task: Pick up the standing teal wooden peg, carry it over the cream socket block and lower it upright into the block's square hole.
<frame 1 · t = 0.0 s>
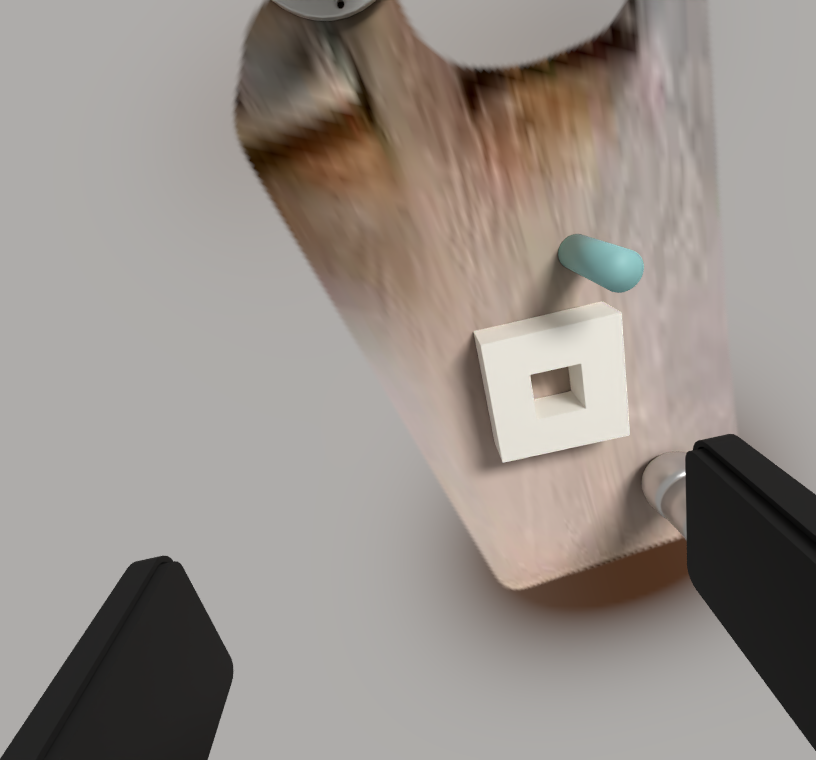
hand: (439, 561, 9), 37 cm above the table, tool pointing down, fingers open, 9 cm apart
peg: (575, 251, 43), on the table
hole block: (545, 375, 48), on the table
plastic bottle: (663, 470, 53), on the table
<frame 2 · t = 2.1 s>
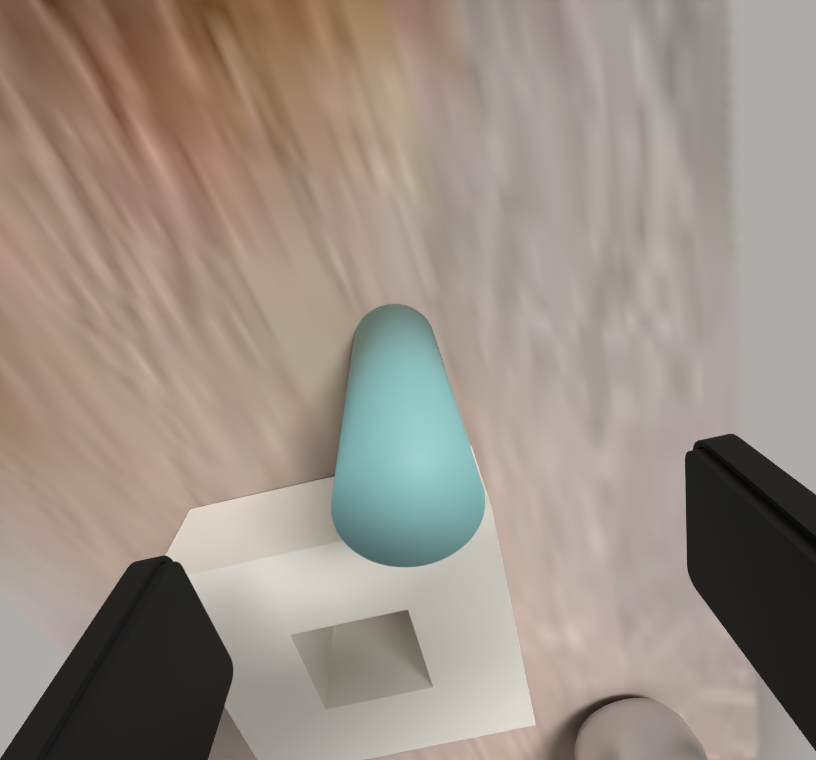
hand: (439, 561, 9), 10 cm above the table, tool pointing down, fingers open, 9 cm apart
peg: (394, 343, 18), on the table
hole block: (366, 582, 23), on the table
plastic bottle: (617, 715, 28), on the table
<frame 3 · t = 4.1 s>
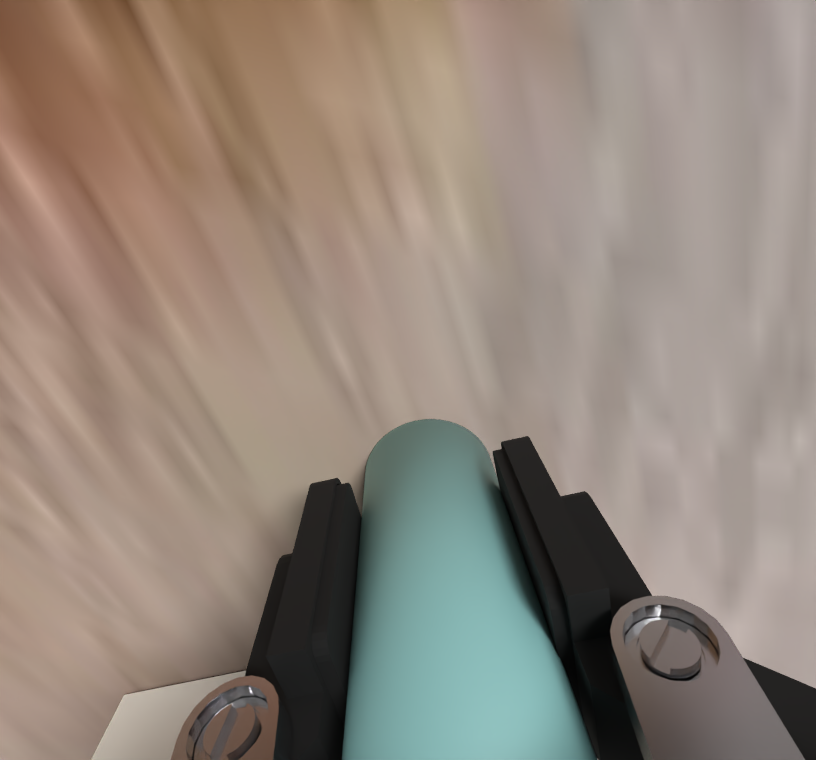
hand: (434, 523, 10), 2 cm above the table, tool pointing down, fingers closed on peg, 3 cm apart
peg: (428, 475, 12), on the table, touching gripper
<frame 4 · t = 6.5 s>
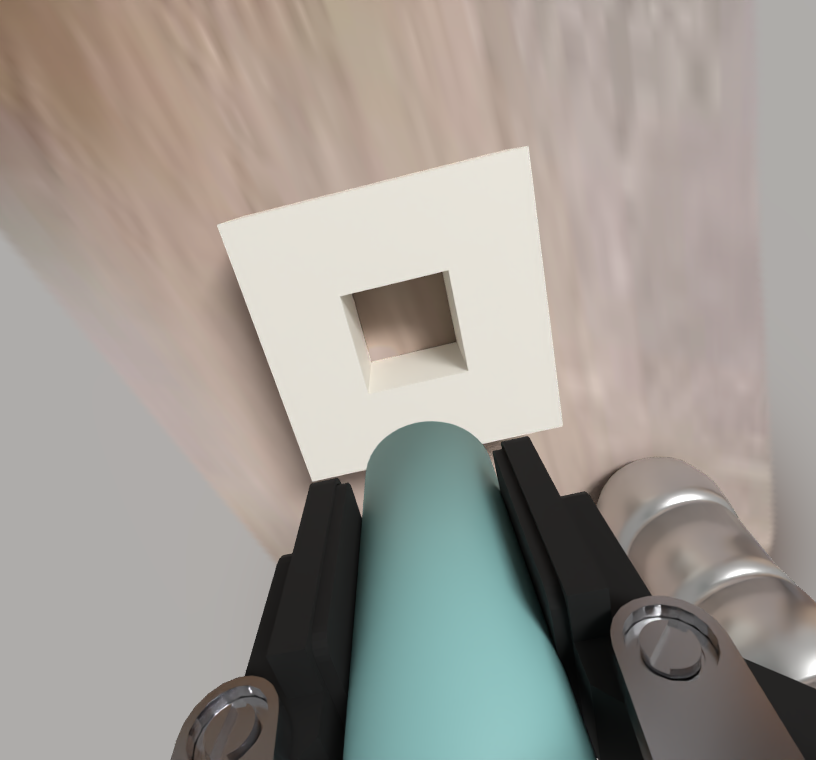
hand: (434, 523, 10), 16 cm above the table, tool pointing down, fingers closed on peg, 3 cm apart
peg: (429, 477, 12), point 14 cm above the table, touching gripper
hole block: (403, 310, 25), on the table
plastic bottle: (636, 489, 30), on the table
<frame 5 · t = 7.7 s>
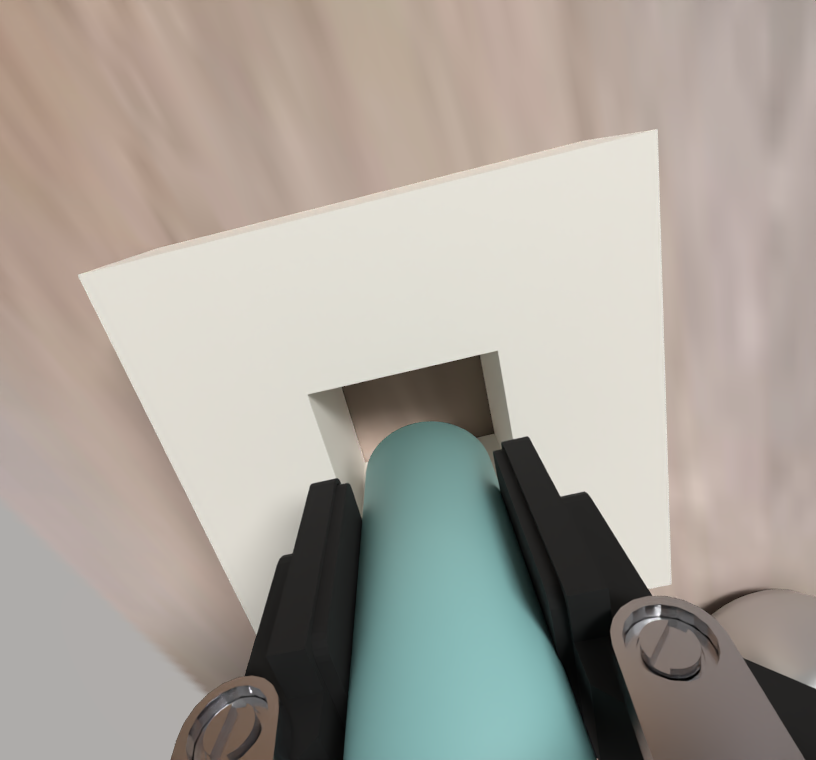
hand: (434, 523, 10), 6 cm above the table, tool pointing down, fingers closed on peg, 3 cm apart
peg: (429, 478, 12), point 5 cm above the table, touching gripper
hole block: (414, 389, 16), on the table
plastic bottle: (741, 623, 21), on the table
when the fingers open (4 cm above the table, at t = 8.9 s): peg drops 3 cm, resting in hole block.
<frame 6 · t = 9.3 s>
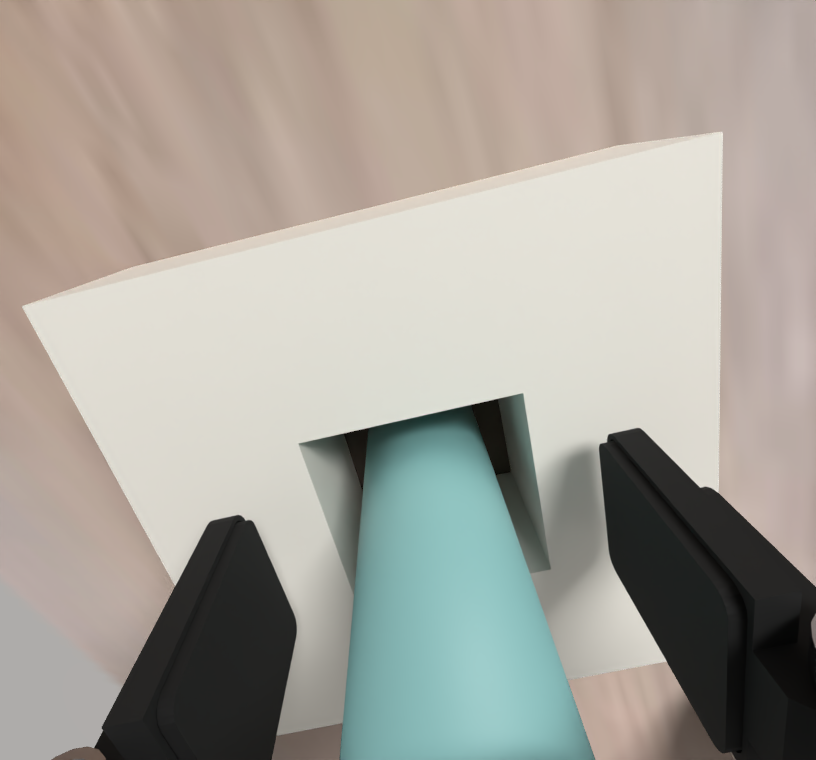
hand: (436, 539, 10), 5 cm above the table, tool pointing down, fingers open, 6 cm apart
peg: (421, 423, 14), resting in hole block
hole block: (421, 423, 14), on the table
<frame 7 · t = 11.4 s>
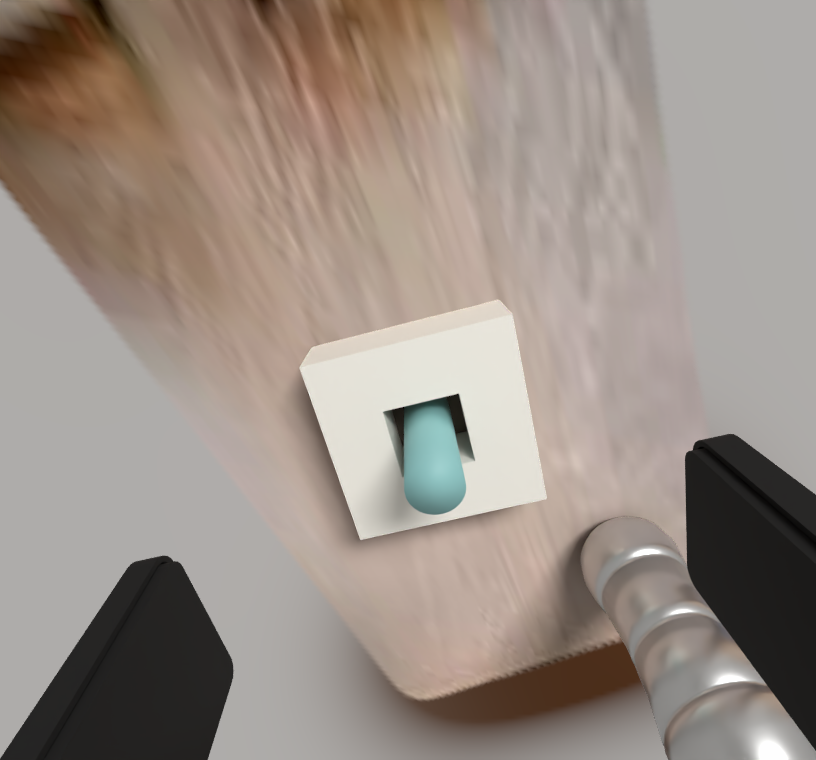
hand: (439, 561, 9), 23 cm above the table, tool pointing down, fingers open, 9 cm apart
peg: (426, 409, 33), resting in hole block
hole block: (426, 409, 33), on the table
plastic bottle: (614, 540, 37), on the table
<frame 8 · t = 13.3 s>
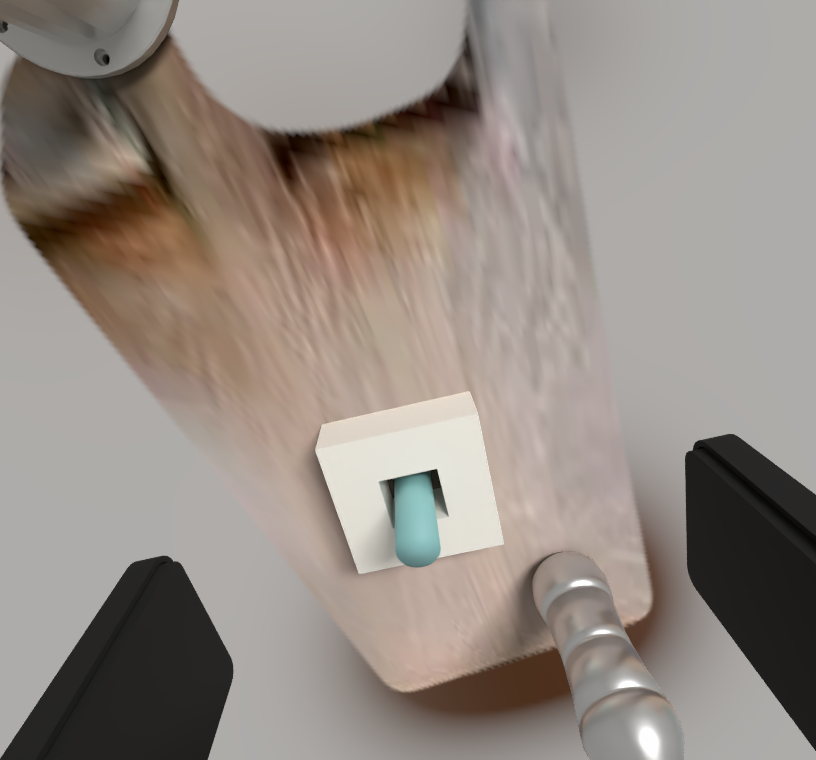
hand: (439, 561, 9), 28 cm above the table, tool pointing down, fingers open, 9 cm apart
peg: (412, 470, 42), resting in hole block
hole block: (412, 470, 41), on the table
plastic bottle: (560, 568, 46), on the table
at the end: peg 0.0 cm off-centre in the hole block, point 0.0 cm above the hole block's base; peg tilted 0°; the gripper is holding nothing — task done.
